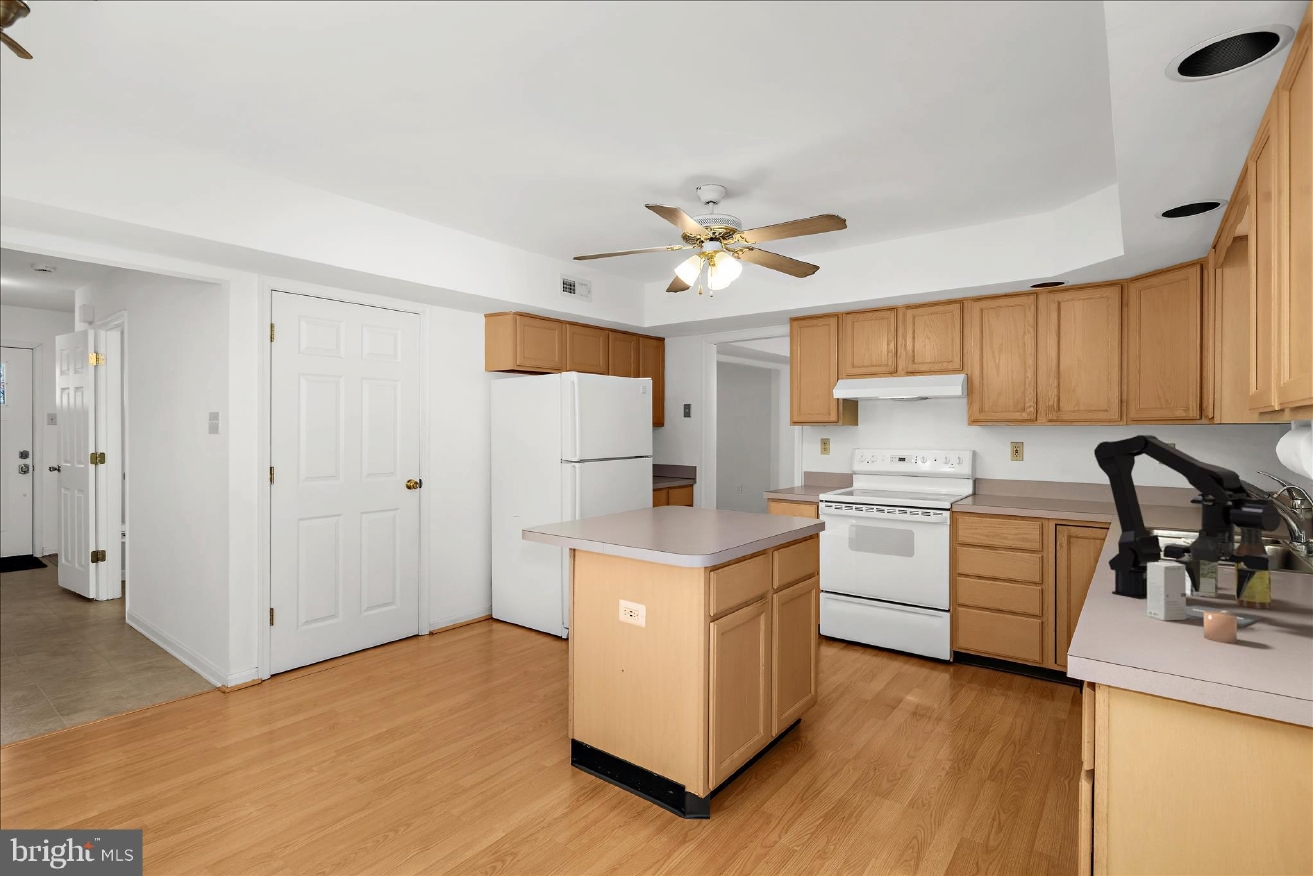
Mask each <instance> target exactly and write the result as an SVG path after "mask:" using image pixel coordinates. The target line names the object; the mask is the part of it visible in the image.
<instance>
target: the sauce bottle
mask: <svg viewBox="0 0 1313 876" xmlns="http://www.w3.org/2000/svg"><path fill="white" fill-rule="evenodd" d="M1239 530H1240V542H1239V545H1238V546H1237V547H1235V549H1236V553H1235V555H1243V556H1245V555H1247V554H1251V553H1257V554H1266V555H1269V554H1268V551H1267V549H1266V547H1265V545H1264V543H1263V536H1262V534H1263V531H1260V530H1252V529H1243V528H1239ZM1238 568H1242V565H1241V564H1240V563H1234V585H1235V587H1234V589H1235V592H1236V590H1237V581H1238V573H1237V569H1238ZM1271 577H1272V575H1271V570H1270V571H1261V572H1257V573H1256V574H1255V575H1254V576H1253V578H1252V579H1251V580H1250V582H1249V584H1248V586H1247V588H1246V589H1245V591H1244V593H1243V595H1242V597H1241V598H1240V599H1237V595H1236V594H1235V599H1236V601H1235V602H1236V603H1235V604H1236V605H1238V606H1240V607H1243V606H1244V607H1245V608H1247V609H1248V608H1250V609H1257V610H1268V609H1271V603H1272V586H1271V585H1272V584H1271Z"/></svg>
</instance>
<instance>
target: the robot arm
mask: <svg viewBox="0 0 1313 876" xmlns="http://www.w3.org/2000/svg"><path fill="white" fill-rule="evenodd" d="M1093 452H1094V453H1093V454H1094V457H1095V460H1096V462H1097V465H1098V466H1099V468H1100V469H1101V470H1102V471H1103V472H1104V473H1105V475H1106V476H1107V477H1108V481H1109V485H1110V489H1111V493H1112V497H1113V502H1114V505H1115V510H1116V513H1117V517H1118V521H1119V526H1120V529H1121V534H1120V537H1119V539H1118V542H1117V547H1118V553H1117V554H1116V555H1114V556H1113V557H1112V558H1111V559H1110V560H1109V561H1108V565H1109V568H1110V570H1111V571H1114V574H1115V575H1114V577H1115V578H1114V579H1115V580H1114V590H1112V591H1111V594H1112V595H1118V596H1124V597H1130V598H1134V599H1139V600H1140V599H1144V598H1145V599H1146V598H1147V572H1146V571H1147V563H1151V562H1160V561H1161V559H1162V555H1163V557H1164V558H1166V559H1173V560H1174V563H1177V564H1182V565H1185V570H1186V572H1187V574H1188V576H1189V578H1190V580H1191V583H1192V585H1193V587H1194V590H1195V592H1199V589H1200V560H1203V561H1208V562H1212V563H1216V562H1218V563H1219V562H1226V563H1232V564H1235V563H1240V564H1241V565H1242V568H1238V569H1237V573H1238V581H1237V590H1236V591H1235V596H1236V595H1237V599H1240V598H1241V597H1242V595H1243V593H1244V591H1245V589H1246V588H1247V586H1248V584H1249V582H1250V580H1251V579H1252V578H1253V576H1254V575H1255V574H1256V573H1257V572H1261V571H1270V572H1271V571H1273V570H1277V569H1278V559H1277V558H1276V557H1275V556H1274V555H1272V554H1268V555H1266V554H1257V553H1251V554H1247V555H1245V556H1243V555H1235V553H1236V547H1235V546H1236V545H1235V544H1236V543H1235V541H1236V540H1235V536H1236V535H1237V530H1236V529H1235V527H1237V528H1238V529H1240V528H1243V529H1252V530H1260V531H1262V532H1268V533H1269V532H1270V533H1272V532H1275V531H1276V530H1278V528H1279V526H1280V524H1281V522H1282V521H1281V519H1282V515H1281V514H1280V511H1279V508H1278V507H1277V506H1275V504H1274V499H1271V498H1254V497H1253V496H1252V495H1251V493H1250V492H1249V491H1248V490H1247V489H1246V487H1245V486H1244V485H1243V484H1242V482H1241V479H1240V475H1239V474H1238V473H1237V472H1235V471H1234V470H1231V469H1228V468H1225V467H1222V466H1219V465H1216V464H1211V463H1207V462H1203V461H1200V460H1199V459H1197V458H1195V457H1193V456H1192V455H1189V454H1187V453H1186V452H1183V451H1181V450H1180V449H1178V448H1176V447H1174V446H1171V445H1170V444H1168V443H1166V442H1165V441H1163V440H1161V439H1159V438H1158V437H1157V436H1155V435H1152V434H1140V435H1139V434H1138V435H1136V436H1132V437H1130V438H1125V439H1120V440H1116V441H1115V440H1114V441H1101V442H1099V443H1098V444H1097V445H1096V448H1094V451H1093ZM1141 455H1146V456H1148V457H1150V458H1151V459H1153V460H1156V461H1157V462H1159V463H1161V464H1162V465H1164V466H1166V467H1168V468H1169V469H1171V470H1173V471H1174V472H1177V473H1179V474H1180V475H1182V476H1183V477H1184V478H1185V479H1186V480H1187V482H1188V483H1189V484H1190V485H1191V486H1192V487H1193V488H1194V489H1196V490H1197V491H1198V492H1199V494H1198V495H1197V496H1196V497H1194V498H1192V499H1191V500H1190V503H1191V504H1195V505H1200V509H1201V510H1200V511H1201V512H1200V514H1201V515H1200V519H1201V521H1200V524H1201V525H1200V529H1199V530H1198V536H1197V539H1196V540H1195V541H1194V542H1193V543H1192V544H1191V545H1181V544H1180V543H1176V544H1171V545H1167V546H1166V547H1164V548H1162V549H1163V550H1162V549H1161V548H1160V545H1159V543H1160V539H1159V536H1158V535H1151V533H1149V531H1147V529H1146V526H1145V522H1144V519H1143V514H1142V511H1141V506H1140V504H1139V499H1138V495H1137V492H1136V486H1135V483H1134V479H1133V476H1132V475H1133V474H1132V472H1133V470H1134V466H1135V463H1136V459H1135V457H1138V456H1141ZM1162 553H1163V554H1162ZM1237 599H1236V600H1237Z"/></svg>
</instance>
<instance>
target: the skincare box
mask: <svg viewBox="0 0 1313 876" xmlns="http://www.w3.org/2000/svg"><path fill="white" fill-rule="evenodd" d="M1146 600H1147V602H1146V604H1147V605H1146V609H1147V611H1146V612H1147V613H1146V616H1148V617H1150V618H1152V619H1157V620H1159V621H1164V622H1165V621H1167V622H1168V621H1180V620H1181V621H1182V620H1183V621H1184V620H1186V619H1187V617H1186V608H1187V603H1186V602H1187V594H1186V577H1185V565H1182V564H1180V563H1177V562H1170V561H1158V562H1151V563H1147V597H1146Z"/></svg>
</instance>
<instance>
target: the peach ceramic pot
mask: <svg viewBox="0 0 1313 876" xmlns="http://www.w3.org/2000/svg"><path fill="white" fill-rule="evenodd" d="M1237 630H1238V627H1237V616H1236V615H1233V614H1230V613H1225V612H1218V611H1205V612H1204V620H1203V638H1204V639H1206V640H1208V641H1212V642H1216V643H1223V644H1236V643H1237V642H1238V631H1237Z"/></svg>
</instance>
